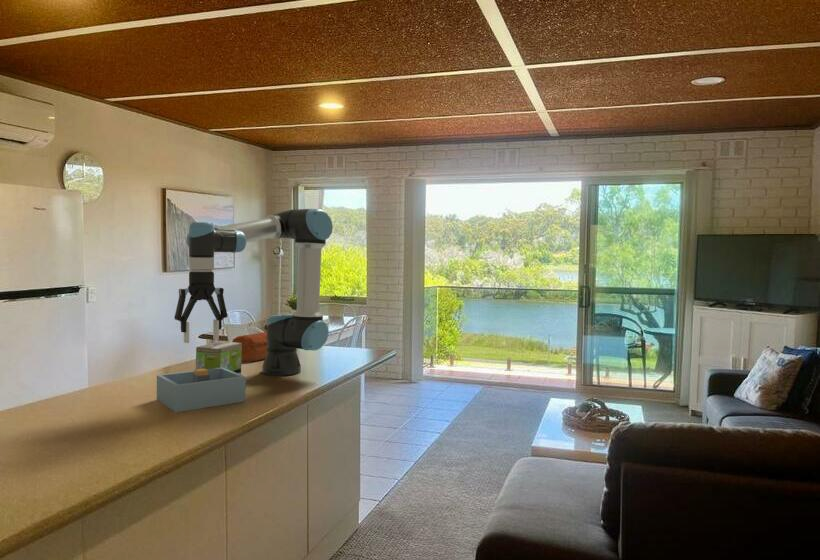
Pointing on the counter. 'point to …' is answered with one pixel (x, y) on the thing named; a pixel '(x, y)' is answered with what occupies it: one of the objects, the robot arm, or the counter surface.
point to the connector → (201, 375)
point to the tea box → (220, 356)
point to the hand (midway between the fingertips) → (201, 341)
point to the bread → (253, 346)
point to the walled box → (200, 389)
